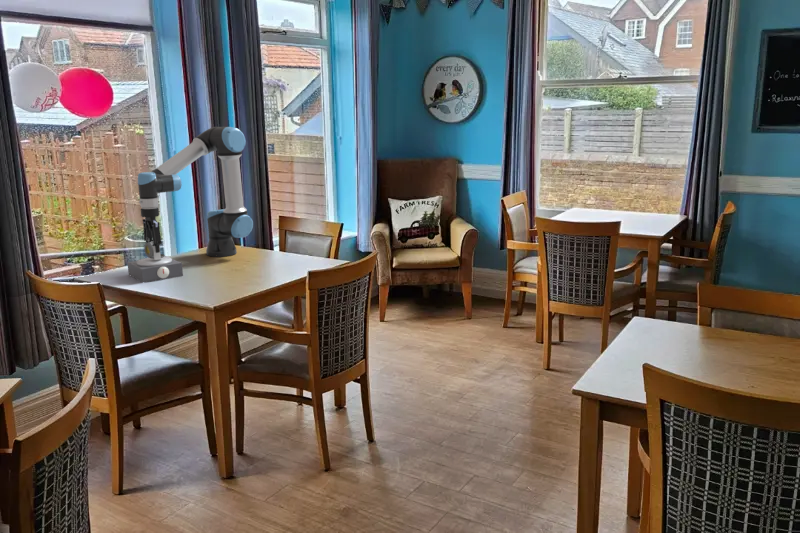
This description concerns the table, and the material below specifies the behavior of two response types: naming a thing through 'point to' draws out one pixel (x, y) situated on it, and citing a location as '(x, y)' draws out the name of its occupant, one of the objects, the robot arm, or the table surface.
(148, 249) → the pocket watch
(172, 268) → the dial scale
